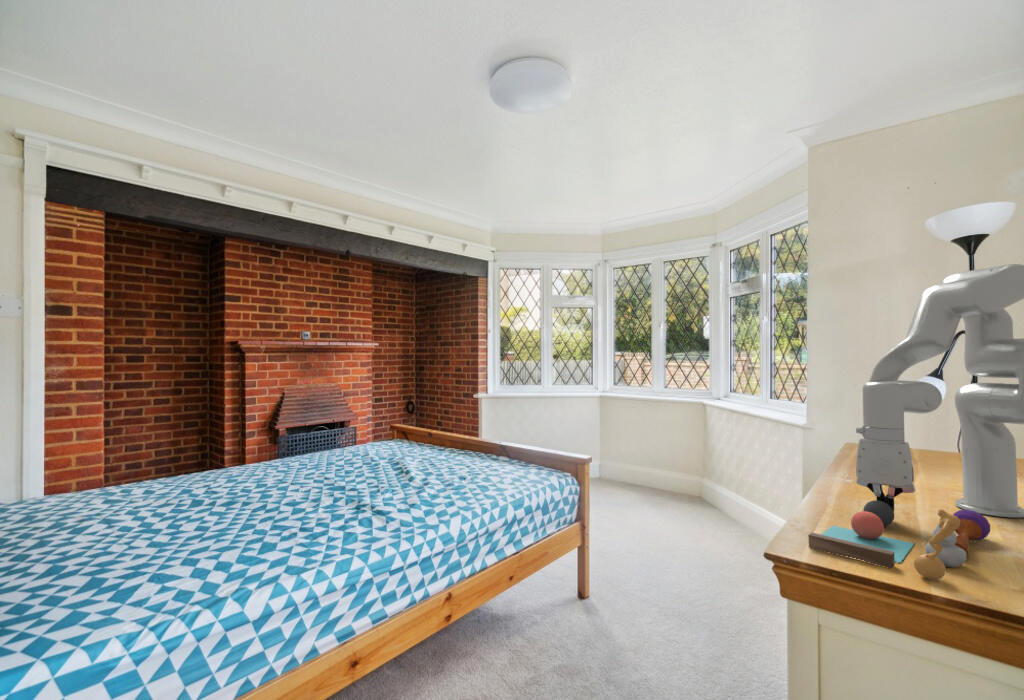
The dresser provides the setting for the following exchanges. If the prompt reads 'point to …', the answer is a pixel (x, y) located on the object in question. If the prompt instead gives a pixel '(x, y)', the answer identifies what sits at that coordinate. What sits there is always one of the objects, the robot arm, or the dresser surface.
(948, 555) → the gray statuette
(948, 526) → the figurine
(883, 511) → the dark gray ball
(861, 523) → the red ball
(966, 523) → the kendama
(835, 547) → the walnut rail
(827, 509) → the dresser surface
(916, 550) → the dresser surface
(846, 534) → the teal mark
